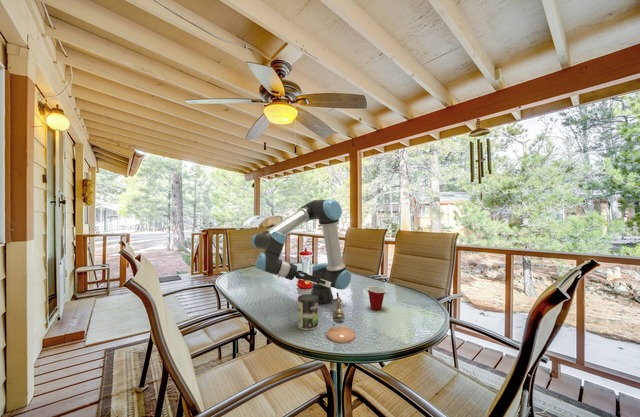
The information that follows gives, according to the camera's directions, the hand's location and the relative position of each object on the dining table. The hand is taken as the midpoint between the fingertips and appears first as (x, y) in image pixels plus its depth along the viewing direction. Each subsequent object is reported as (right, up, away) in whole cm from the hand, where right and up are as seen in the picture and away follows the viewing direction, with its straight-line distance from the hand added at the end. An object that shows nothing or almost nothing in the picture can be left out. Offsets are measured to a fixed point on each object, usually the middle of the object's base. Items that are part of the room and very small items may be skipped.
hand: (324, 283), depth 133 cm
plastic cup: (+31, -20, +18) cm, 41 cm away
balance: (+8, -20, +8) cm, 23 cm away
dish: (+7, -20, -14) cm, 25 cm away
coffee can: (-8, -20, -3) cm, 22 cm away
